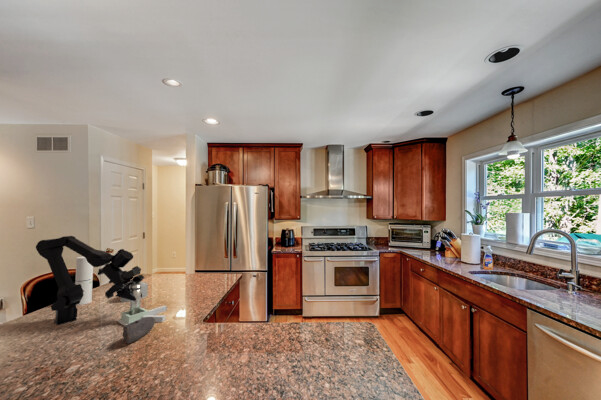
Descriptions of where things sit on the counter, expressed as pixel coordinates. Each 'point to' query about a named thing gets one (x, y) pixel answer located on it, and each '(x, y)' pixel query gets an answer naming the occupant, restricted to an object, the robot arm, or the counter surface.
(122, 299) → the lumpy-topped squat cylinder
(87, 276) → the cylindrical container
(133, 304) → the shiny grey metal cylinder
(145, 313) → the shaft rig
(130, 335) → the perforated stone tool
